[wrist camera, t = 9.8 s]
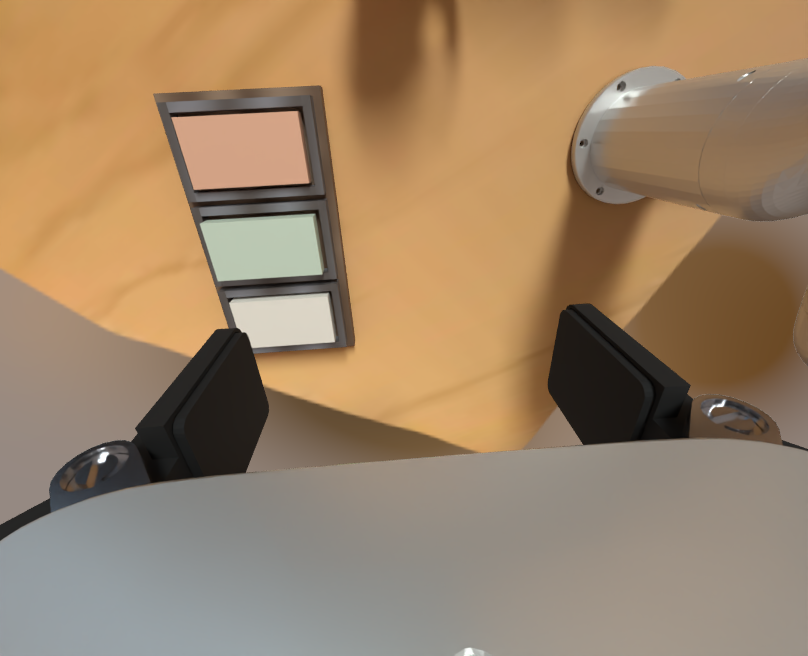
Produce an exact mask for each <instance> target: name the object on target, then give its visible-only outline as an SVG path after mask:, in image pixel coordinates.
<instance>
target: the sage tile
mask: <svg viewBox="0 0 808 656" xmlns="http://www.w3.org/2000/svg"><path fill="white" fill-rule="evenodd" d="M200 226H201V229H202V233H203V236H204V239H205V242H206V245H207V248H208V251H209V255H210V258H211V261H212V264H213V267H214V270H215V274H216V277H217V280H218V281H230V280H245V279H261V278H276V277H291V276H307V275H322V274H323V271H324V264H323V258H322V252H321V246H320V240H319V233H318V227H317V221H316V215H315V214H302V215H285V216H268V217H252V218H235V219H218V220H206V221H204V222H202V223H200Z"/></svg>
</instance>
